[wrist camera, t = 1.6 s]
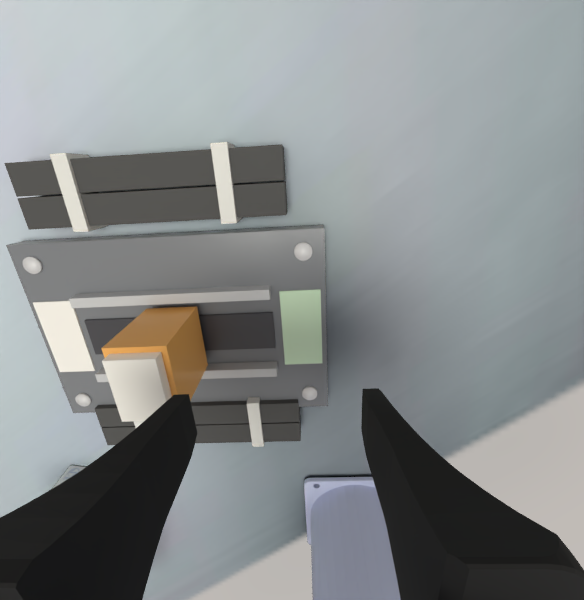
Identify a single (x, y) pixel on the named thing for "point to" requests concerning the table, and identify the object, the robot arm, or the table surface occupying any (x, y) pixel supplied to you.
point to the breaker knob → (155, 360)
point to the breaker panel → (187, 293)
